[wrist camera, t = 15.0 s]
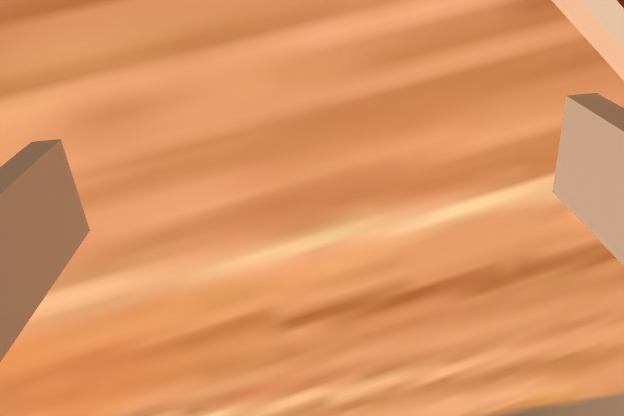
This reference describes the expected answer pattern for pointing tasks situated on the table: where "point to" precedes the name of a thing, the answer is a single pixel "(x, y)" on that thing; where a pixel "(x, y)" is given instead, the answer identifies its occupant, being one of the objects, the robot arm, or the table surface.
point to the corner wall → (599, 27)
